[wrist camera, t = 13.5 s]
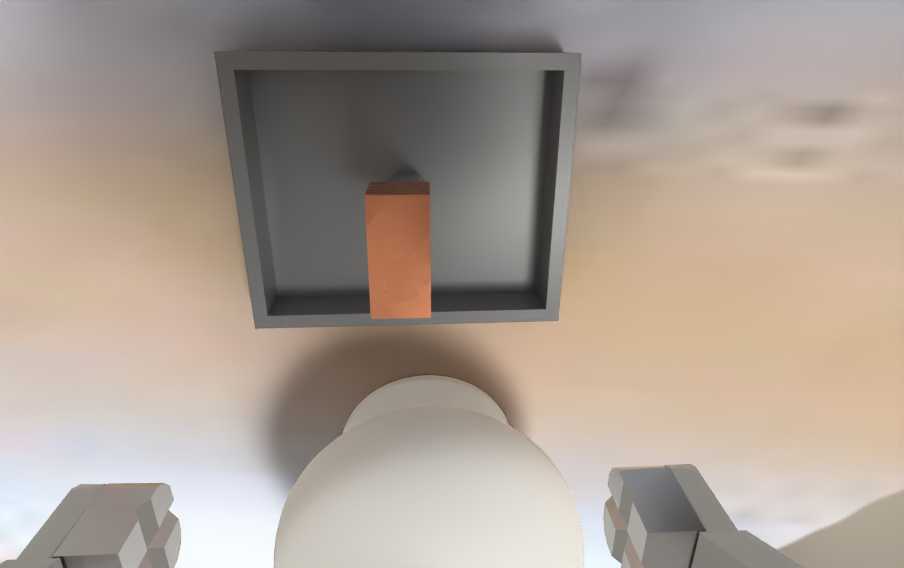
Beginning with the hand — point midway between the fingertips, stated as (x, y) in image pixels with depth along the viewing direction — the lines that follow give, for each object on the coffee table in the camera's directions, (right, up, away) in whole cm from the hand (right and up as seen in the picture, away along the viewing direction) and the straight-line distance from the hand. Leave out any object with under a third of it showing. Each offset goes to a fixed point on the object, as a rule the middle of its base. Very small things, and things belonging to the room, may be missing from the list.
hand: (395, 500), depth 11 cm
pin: (-2, +10, +23) cm, 25 cm away
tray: (-2, +10, +23) cm, 25 cm away
